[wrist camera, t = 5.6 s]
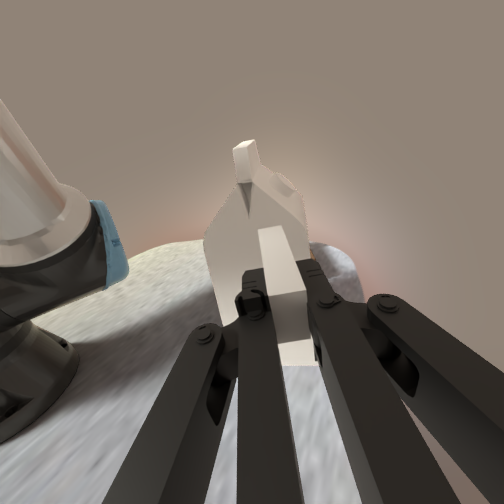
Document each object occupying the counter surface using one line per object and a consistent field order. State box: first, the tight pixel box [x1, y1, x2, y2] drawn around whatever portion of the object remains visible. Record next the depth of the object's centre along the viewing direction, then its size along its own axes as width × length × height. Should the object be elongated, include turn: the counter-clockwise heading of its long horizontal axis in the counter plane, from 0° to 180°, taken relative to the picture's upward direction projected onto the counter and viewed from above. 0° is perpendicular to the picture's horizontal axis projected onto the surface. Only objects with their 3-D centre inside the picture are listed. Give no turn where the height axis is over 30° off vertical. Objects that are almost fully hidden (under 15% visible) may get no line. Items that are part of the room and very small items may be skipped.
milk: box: [203, 140, 319, 366], centre depth 30 cm, size 12×12×26 cm
